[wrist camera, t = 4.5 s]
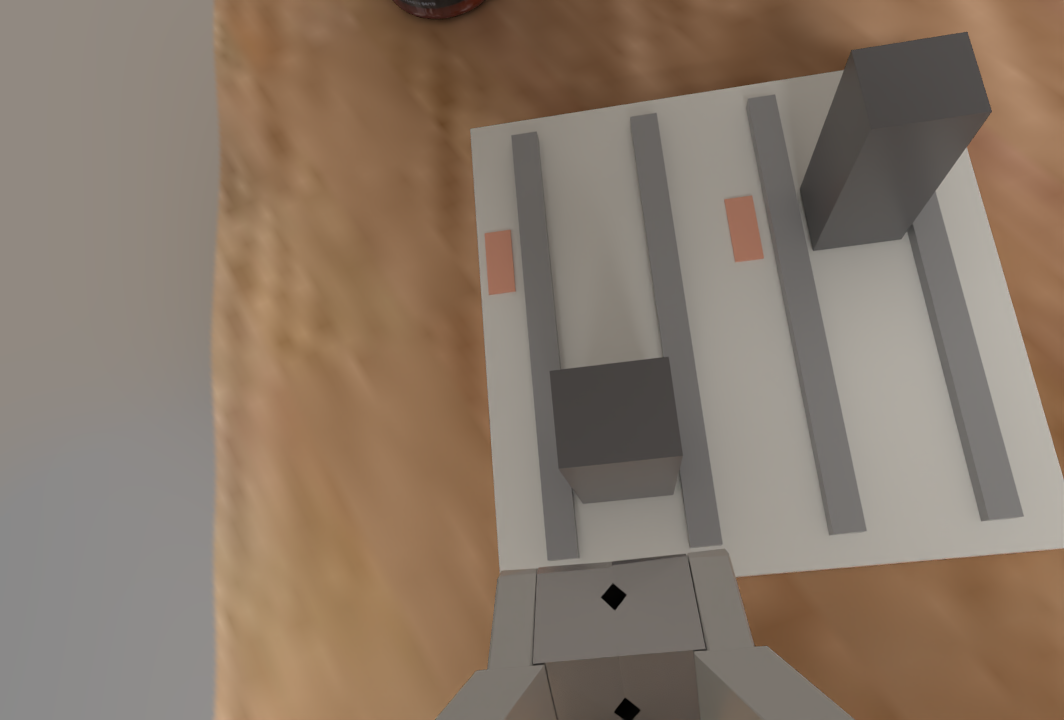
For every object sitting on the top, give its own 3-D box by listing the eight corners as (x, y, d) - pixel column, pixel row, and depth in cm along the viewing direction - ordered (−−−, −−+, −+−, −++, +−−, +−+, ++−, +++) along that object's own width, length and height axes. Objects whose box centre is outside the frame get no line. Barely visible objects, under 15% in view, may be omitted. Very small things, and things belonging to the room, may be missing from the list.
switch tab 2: (901, 239, 27) (991, 111, 20) (812, 251, 27) (871, 129, 20) (885, 176, 28) (967, 31, 21) (799, 188, 28) (851, 50, 21)
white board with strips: (1050, 549, 25) (1093, 545, 23) (511, 597, 27) (498, 597, 25) (921, 88, 31) (945, 43, 28) (480, 155, 33) (466, 120, 30)
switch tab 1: (673, 494, 26) (683, 455, 18) (583, 503, 26) (558, 469, 19) (663, 421, 26) (668, 356, 19) (575, 431, 27) (549, 370, 20)
